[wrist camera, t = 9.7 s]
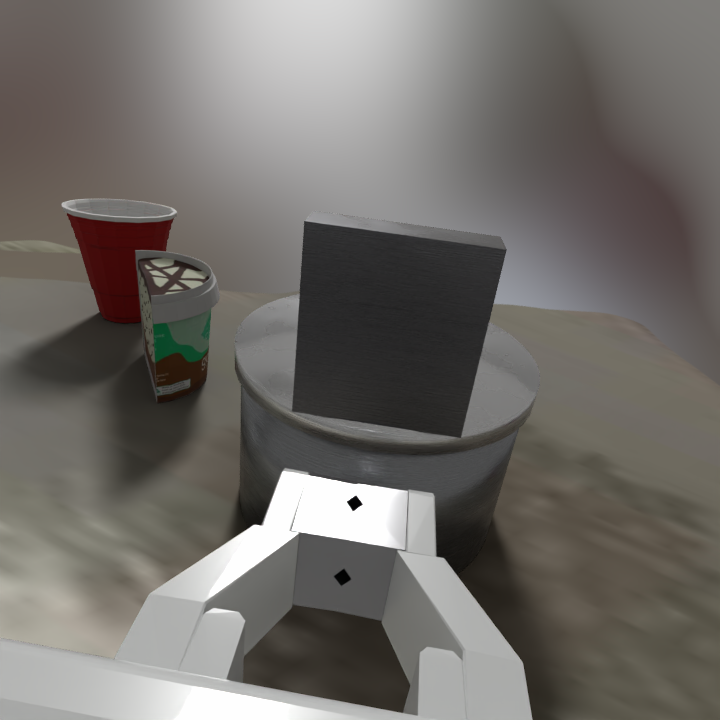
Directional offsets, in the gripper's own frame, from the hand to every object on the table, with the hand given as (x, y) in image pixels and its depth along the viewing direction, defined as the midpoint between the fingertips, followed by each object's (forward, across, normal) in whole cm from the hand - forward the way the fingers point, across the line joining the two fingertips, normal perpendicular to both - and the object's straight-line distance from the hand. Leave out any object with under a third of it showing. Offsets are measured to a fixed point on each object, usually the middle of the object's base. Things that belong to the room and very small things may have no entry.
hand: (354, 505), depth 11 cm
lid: (+22, 0, +8) cm, 23 cm away
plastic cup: (+45, +28, +19) cm, 57 cm away
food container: (+34, +18, +19) cm, 43 cm away
